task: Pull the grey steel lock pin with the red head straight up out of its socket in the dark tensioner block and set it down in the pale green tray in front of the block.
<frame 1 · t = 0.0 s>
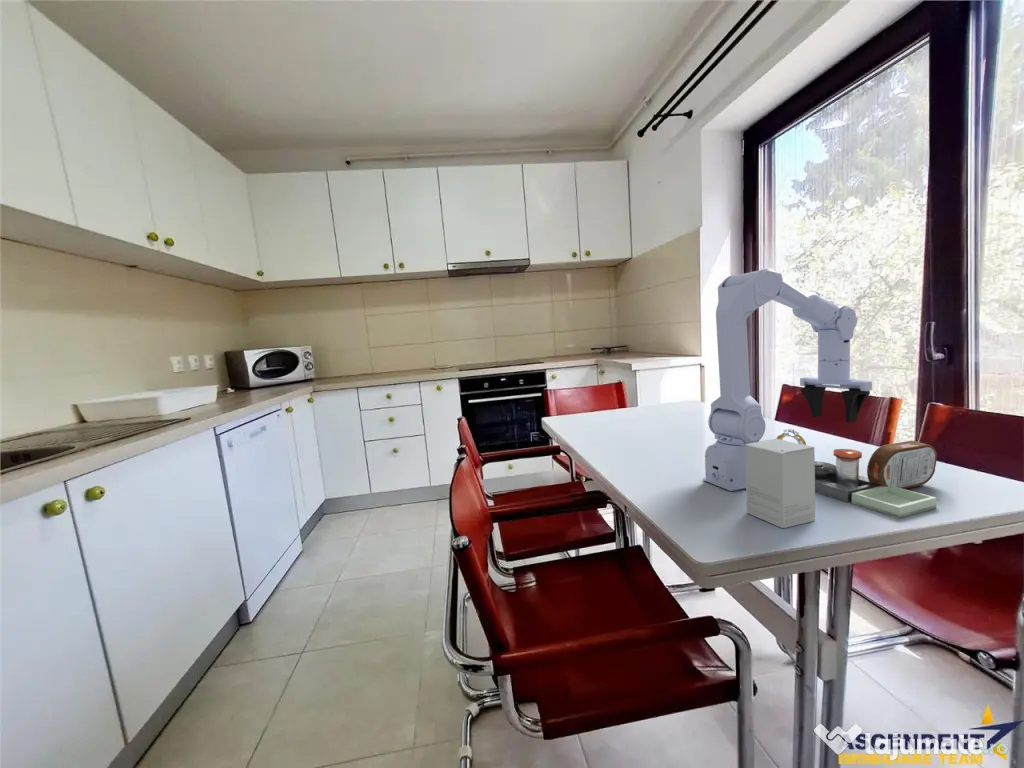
hand: (833, 419, 95), 10 cm above the table, fingers open, 7 cm apart
supplement box: (779, 517, 71), on the table
tray: (892, 505, 72), on the table
ring: (790, 463, 98), on the table
tensioner block: (833, 487, 82), on the table
tin: (902, 487, 79), on the table, touching tensioner block, tray
lock pin: (847, 491, 79), resting in tensioner block
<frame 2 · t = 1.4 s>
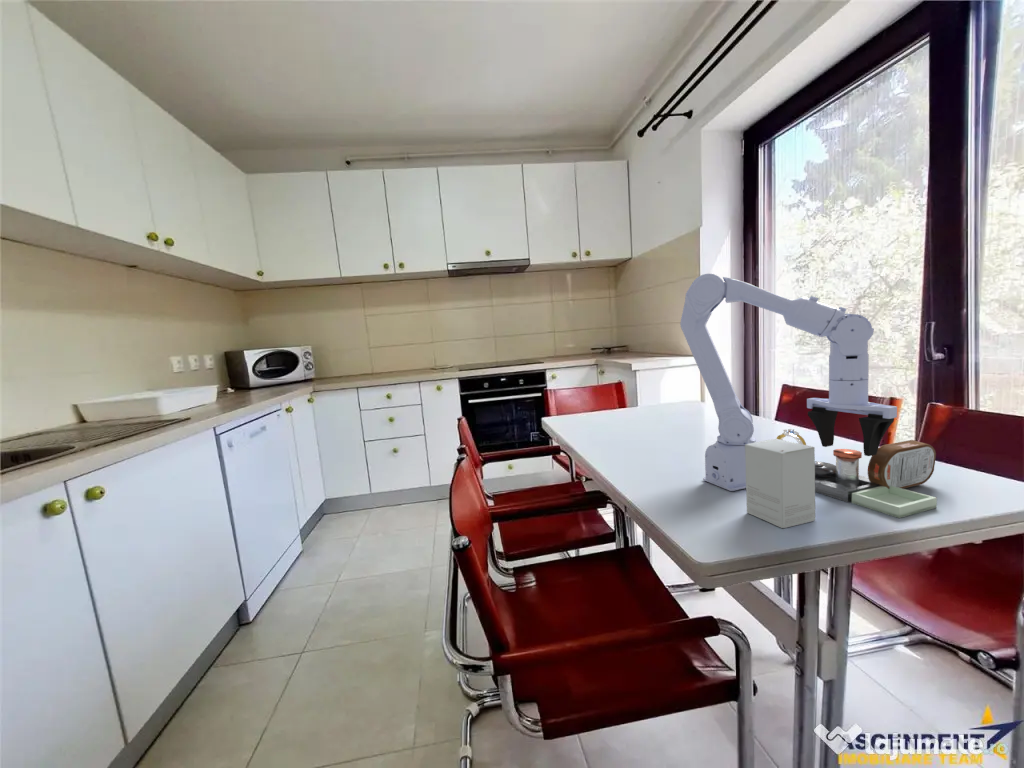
hand: (847, 450, 79), 8 cm above the table, fingers open, 7 cm apart
nothing on the table moved.
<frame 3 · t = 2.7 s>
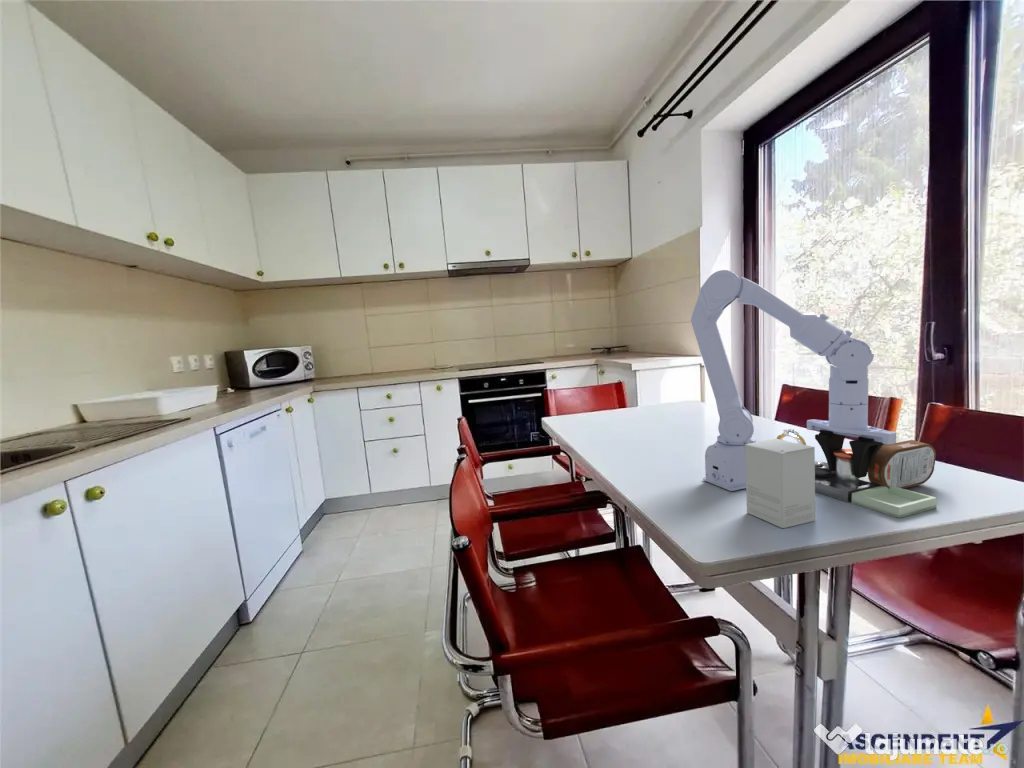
hand: (847, 473, 79), 4 cm above the table, fingers closed on lock pin, 4 cm apart
lock pin: (847, 491, 79), resting in tensioner block, touching gripper
everything else where it was.
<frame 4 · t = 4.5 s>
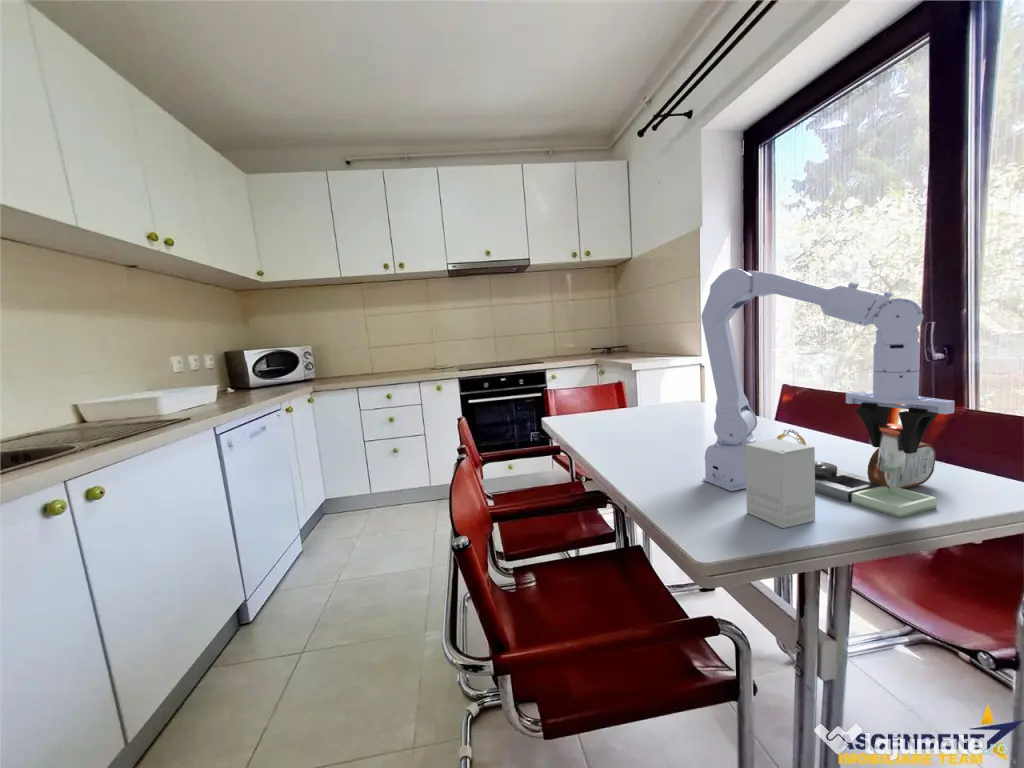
hand: (894, 449, 71), 10 cm above the table, fingers closed on lock pin, 4 cm apart
lock pin: (890, 470, 72), point 6 cm above the table, touching gripper
everything else where it was.
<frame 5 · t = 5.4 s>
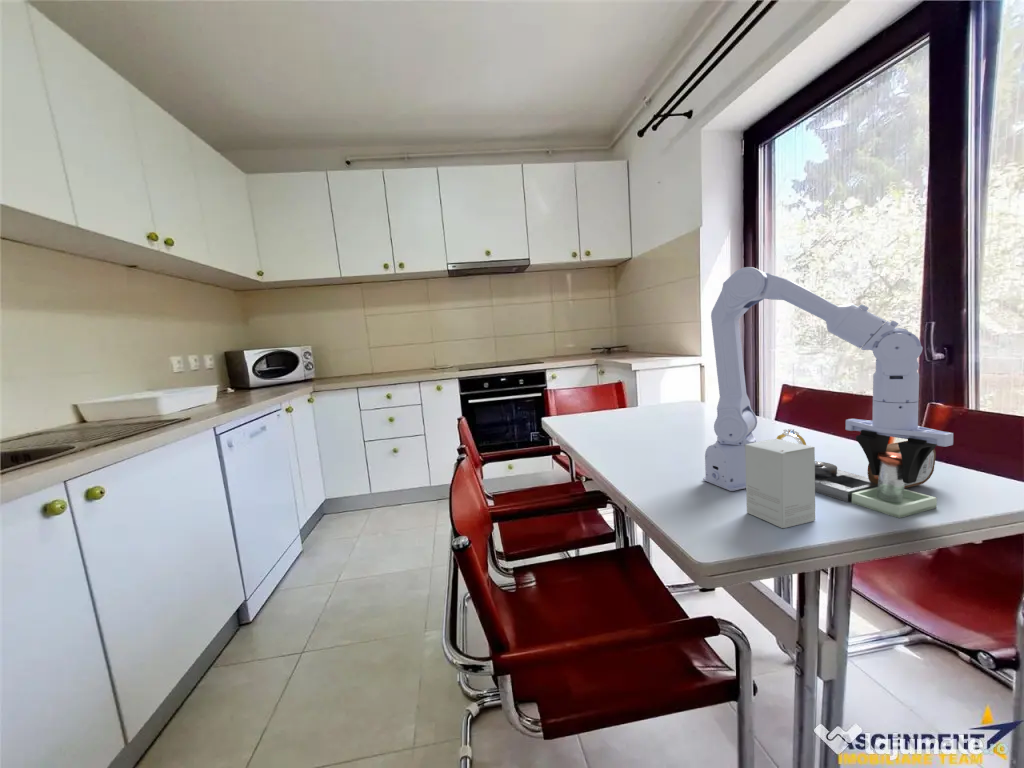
hand: (893, 478, 72), 5 cm above the table, fingers closed on lock pin, 4 cm apart
lock pin: (889, 498, 73), point 1 cm above the table, touching gripper
everything else where it was.
when the fingers open (5 cm above the table, at t = 6.2 s): lock pin stays where it is, resting on tray.
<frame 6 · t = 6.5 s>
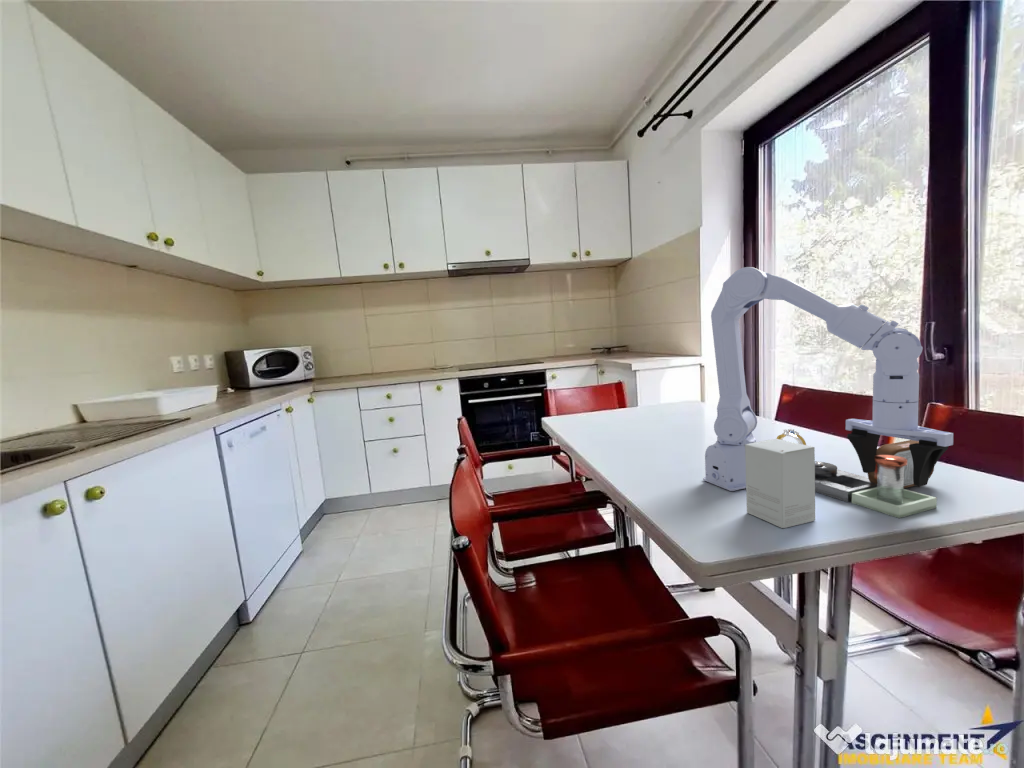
hand: (893, 478, 72), 5 cm above the table, fingers open, 7 cm apart
lock pin: (889, 501, 73), point 1 cm above the table, touching tray
everything else where it was.
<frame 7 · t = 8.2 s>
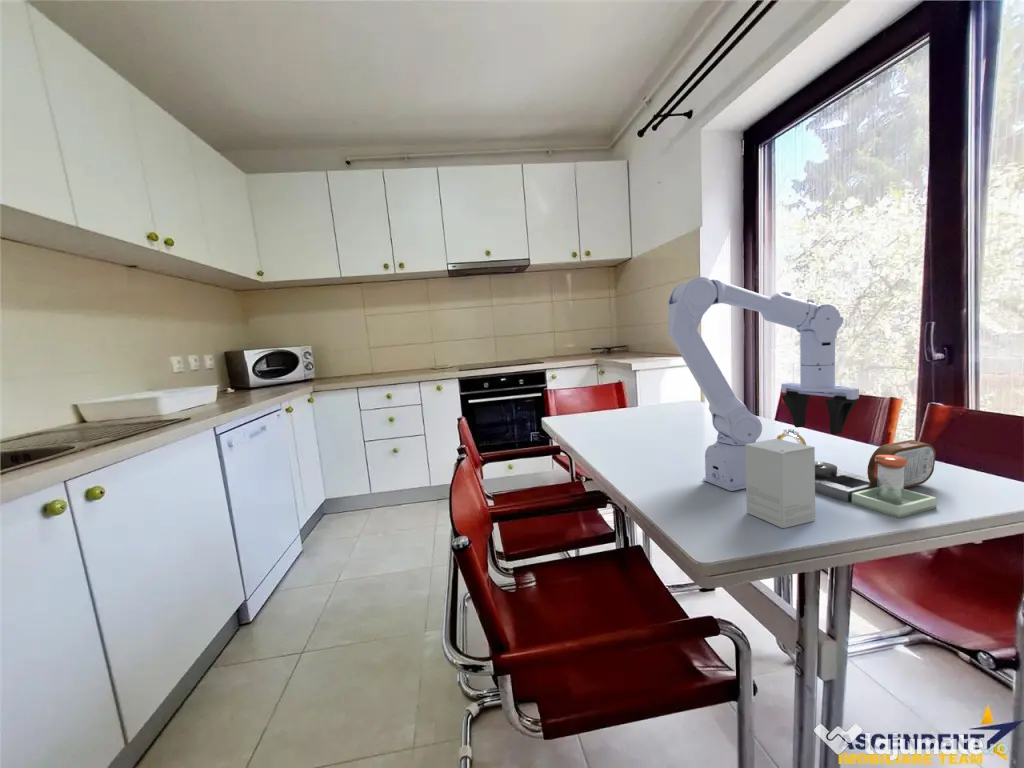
hand: (817, 430, 86), 10 cm above the table, fingers open, 7 cm apart
nothing on the table moved.
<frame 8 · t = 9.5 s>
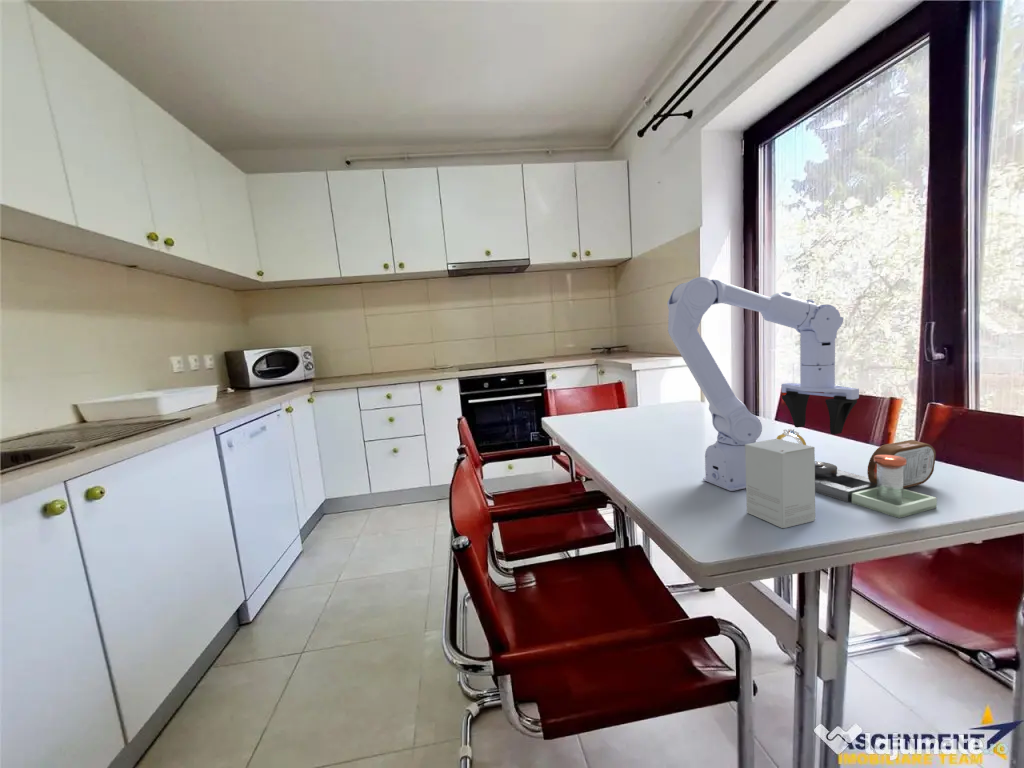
hand: (817, 429, 86), 10 cm above the table, fingers open, 7 cm apart
nothing on the table moved.
at the end: lock pin 0.5 cm off-centre on the tray, point 0.5 cm above the tray's base; the gripper is holding nothing; lock pin touching tray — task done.
